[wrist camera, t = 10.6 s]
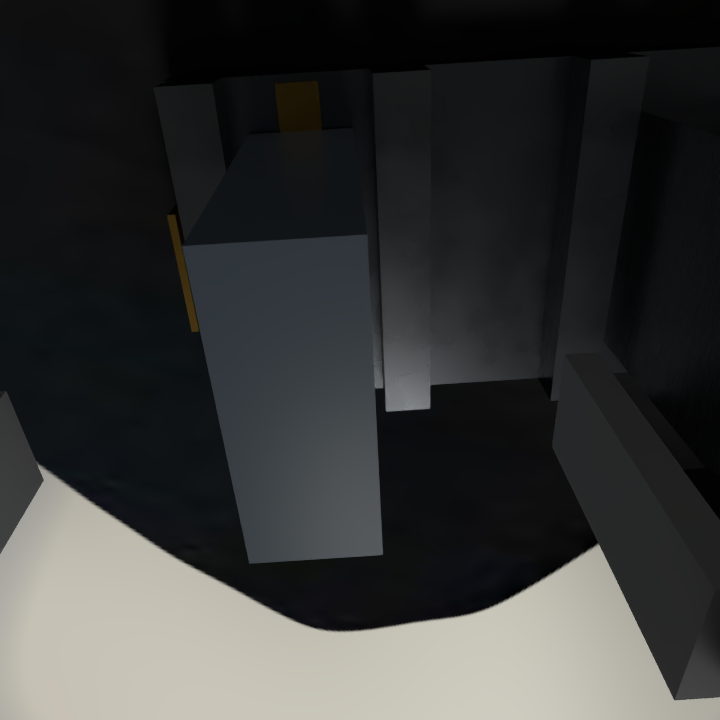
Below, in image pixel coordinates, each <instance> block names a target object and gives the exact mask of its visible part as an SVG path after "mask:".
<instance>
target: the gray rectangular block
mask: <svg viewBox="0 0 720 720" xmlns="http://www.w3.org/2000/svg"><path fill="white" fill-rule="evenodd" d="M182 248H183V253H184V257H185V262H186V267H187V272H188V276H189V281H190V286H191V290H192V295H193V300H194V305H195V309H196V314H197V319H198V323H199V328H200V333H201V337H202V342H203V347H204V352H205V356H206V361H207V366H208V370H209V375H210V380H211V385H212V389H213V394H214V399H215V403H216V408H217V413H218V417H219V422H220V427H221V432H222V436H223V441H224V446H225V450H226V455H227V460H228V465H229V469H230V474H231V479H232V483H233V488H234V493H235V497H236V502H237V507H238V512H239V516H240V521H241V526H242V530H243V535H244V540H245V545H246V549H247V554H248V559H249V563H264V562H280V561H295V560H311V559H326V558H341V557H357V556H372V555H383V549H382V528H381V507H380V487H379V466H378V445H377V425H376V404H375V383H374V362H373V342H372V321H371V300H370V279H369V259H368V238H367V228H366V221H365V214H364V206H363V199H362V192H361V184H360V177H359V170H358V162H357V155H356V148H355V140H354V133H353V128H342V129H326V130H310V131H294V132H278V133H262V134H248V136H247V138H246V139H245V141H244V143H243V144H242V146H241V148H240V149H239V151H238V153H237V155H236V156H235V158H234V160H233V161H232V163H231V165H230V166H229V168H228V170H227V171H226V173H225V175H224V176H223V178H222V180H221V181H220V183H219V185H218V187H217V188H216V190H215V192H214V193H213V195H212V197H211V198H210V200H209V202H208V203H207V205H206V207H205V208H204V210H203V212H202V213H201V215H200V217H199V219H198V220H197V222H196V224H195V225H194V227H193V229H192V230H191V232H190V234H189V235H188V237H187V239H186V240H185V242H184V244H183V245H182Z"/></svg>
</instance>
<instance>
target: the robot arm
mask: <svg viewBox="0 0 720 720" xmlns="http://www.w3.org/2000/svg"><path fill="white" fill-rule="evenodd" d="M552 448H553V450H554V452H555V454H556V456H557V458H558V460H559V462H560V464H561V466H562V468H563V470H564V472H565V474H566V477H567V479H568V481H569V483H570V485H571V487H572V489H573V491H574V493H575V495H576V497H577V499H578V501H579V503H580V506H581V508H582V510H583V512H584V514H585V516H586V518H587V520H588V522H589V524H590V526H591V528H592V530H593V532H594V535H595V537H596V539H597V541H598V543H599V545H600V547H601V549H602V551H603V553H604V555H605V557H606V559H607V561H608V563H609V566H610V568H611V570H612V572H613V574H614V576H615V578H616V580H617V582H618V584H619V586H620V588H621V591H622V593H623V594H624V597H625V599H626V601H627V603H628V605H629V607H630V609H631V611H632V613H633V615H634V617H635V620H636V621H637V624H638V626H639V628H640V630H641V632H642V634H643V636H644V638H645V640H646V642H647V644H648V646H649V649H650V651H651V653H652V655H653V657H654V659H655V661H656V663H657V665H658V667H659V669H660V671H661V673H662V675H663V678H664V680H665V681H666V684H667V686H668V688H669V690H670V692H671V694H672V696H673V698H674V700H686V699H699V698H714V697H720V476H719V475H718V474H716V473H715V472H714V471H712V470H711V469H709V468H702V469H687V470H683V469H682V468H681V467H680V465H679V464H678V462H677V461H676V460H675V458H674V457H673V456H672V454H671V453H670V452H669V450H668V449H667V447H666V446H665V445H664V443H663V442H662V441H661V439H660V438H659V437H658V435H657V434H656V432H655V431H654V430H653V428H652V427H651V426H650V424H649V423H648V421H647V420H646V419H645V417H644V416H643V415H642V413H641V412H640V411H639V409H638V408H637V406H636V405H635V404H634V402H633V401H632V400H631V398H630V397H629V396H628V394H627V393H626V391H625V390H624V389H623V387H622V386H621V385H620V383H619V382H618V381H617V379H616V378H615V376H614V375H613V374H612V372H611V371H610V370H609V368H608V367H607V365H606V364H605V363H604V361H603V360H602V359H601V357H600V356H599V355H598V353H583V354H568V355H565V356H564V363H563V370H562V377H561V385H560V392H559V399H558V406H557V414H556V421H555V428H554V435H553V443H552ZM42 482H43V477H42V475H41V473H40V470H39V468H38V465H37V463H36V461H35V458H34V456H33V454H32V451H31V449H30V447H29V444H28V442H27V439H26V437H25V435H24V432H23V430H22V428H21V425H20V423H19V420H18V418H17V416H16V413H15V411H14V409H13V406H12V404H11V401H10V399H9V397H8V394H7V392H6V391H3V392H0V553H1V552H2V550H3V548H4V547H5V545H6V543H7V541H8V540H9V538H10V536H11V535H12V533H13V531H14V529H15V528H16V526H17V524H18V523H19V521H20V519H21V518H22V516H23V514H24V513H25V511H26V509H27V508H28V505H29V504H30V502H31V501H32V499H33V497H34V496H35V494H36V492H37V491H38V489H39V487H40V486H41V484H42Z"/></svg>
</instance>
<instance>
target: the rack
mask: <svg viewBox="0 0 720 720" xmlns="http://www.w3.org/2000/svg"><path fill="white" fill-rule="evenodd" d="M154 92H155V97H156V102H157V107H158V112H159V117H160V122H161V126H162V131H163V136H164V141H165V146H166V151H167V156H168V161H169V166H170V171H171V176H172V181H173V186H174V191H175V195H176V200H177V204H176V205H175V206H174V207H173V209H172V210H171V211H170V212H169V214H168V215H167V217H168V222H169V226H170V231H171V236H172V240H173V245H174V250H175V254H176V259H177V264H178V269H179V273H180V278H181V283H182V287H183V292H184V297H185V301H186V306H187V311H188V316H189V320H190V325H191V330H192V332H194V331H199V330H200V328H199V323H198V319H197V314H196V309H195V305H194V300H193V295H192V290H191V286H190V281H189V276H188V272H187V267H186V262H185V257H184V253H183V248H182V245H183V244H184V242H185V240H186V239H187V237H188V235H189V234H190V232H191V230H192V229H193V227H194V225H195V224H196V222H197V220H198V219H199V217H200V215H201V213H202V212H203V210H204V208H205V207H206V205H207V203H208V202H209V200H210V198H211V197H212V195H213V193H214V192H215V190H216V188H217V187H218V185H219V183H220V181H221V180H222V178H223V176H224V175H225V173H226V171H227V170H228V168H229V166H230V165H231V163H232V161H233V160H234V158H235V156H236V155H237V153H238V151H239V149H240V148H241V146H242V144H243V143H244V141H245V139H246V138H247V136H248V134H262V133H278V132H294V131H310V130H326V129H342V128H353V133H354V140H355V148H356V155H357V162H358V170H359V177H360V184H361V192H362V199H363V206H364V214H365V221H366V228H367V238H368V259H369V279H370V300H371V321H372V342H373V362H374V383H375V388H383V391H384V398H385V406H386V411H399V410H414V409H430V385H435V384H450V383H466V382H481V381H497V380H513V379H528V378H538V379H539V381H540V383H541V384H542V386H543V388H544V390H545V392H546V394H547V395H548V397H549V399H550V401H554V400H558V399H559V392H560V385H561V377H562V370H563V363H564V356H565V355H568V354H583V353H598V355H599V356H600V357H601V359H602V360H603V361H604V363H605V364H606V365H607V367H608V368H609V370H610V371H611V372H612V373H621V372H628V373H629V374H630V375H631V376H632V377H633V379H634V380H635V381H636V382H637V384H638V385H639V386H640V387H641V389H642V390H643V391H644V392H645V394H646V395H647V396H648V397H649V399H650V400H651V401H652V402H653V403H654V405H655V406H656V407H657V408H658V410H659V411H660V412H661V413H662V415H663V416H664V417H665V418H666V420H667V421H668V422H669V423H670V425H671V426H672V427H673V428H674V429H675V431H676V432H677V433H678V434H679V436H680V437H681V438H682V439H683V441H684V442H685V443H686V444H687V446H688V447H689V448H690V449H691V451H692V452H693V453H694V454H695V456H696V457H697V458H698V459H699V460H700V462H701V463H702V464H703V465H704V467H705V468H709V469H711V470H712V471H714V472H715V473H716V474H718V475H719V476H720V43H718V44H702V45H686V46H670V47H654V48H638V49H622V50H606V51H590V52H574V53H558V54H542V55H526V56H510V57H494V58H478V59H462V60H446V61H430V62H414V63H398V64H382V65H366V66H350V67H334V68H318V69H302V70H286V71H270V72H254V73H237V74H221V75H205V76H189V77H173V78H168V79H166V80H163V81H161V84H160V85H157V86H155V87H154Z"/></svg>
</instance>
